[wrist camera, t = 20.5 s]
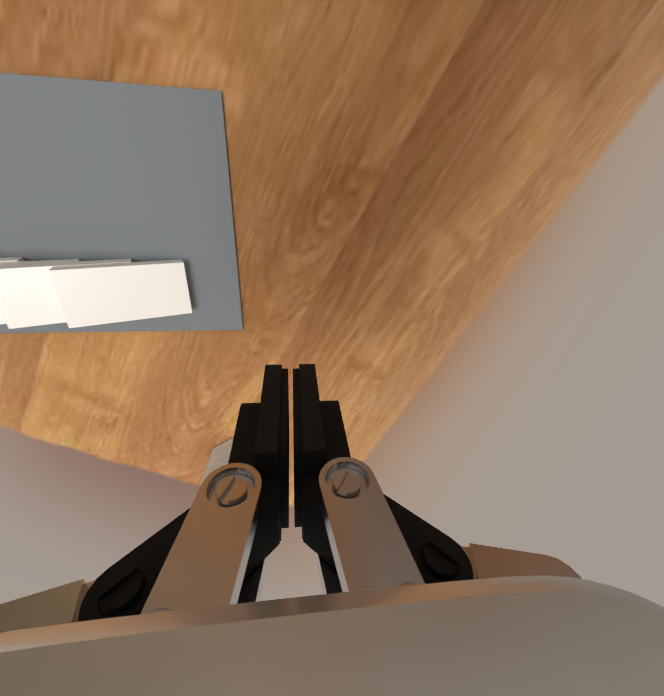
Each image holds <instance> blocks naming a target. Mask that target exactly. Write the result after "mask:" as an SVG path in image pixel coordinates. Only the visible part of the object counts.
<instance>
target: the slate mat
mask: <svg viewBox="0 0 664 696" xmlns="http://www.w3.org/2000/svg"><path fill="white" fill-rule="evenodd" d="M3 257H23V260H24V261H41V260H65V259H79V260H80V261H94V260H113V259H131V261H132V262H143V261H161V260H179V259H182V260H183V262H184V268H185V273H186V279H187V285H188V291H189V297H190V302H191V308H192V313H188V314H180V315H172V316H164V317H156V318H148V319H140V320H132V321H124V322H116V323H108V324H100V325H92V326H84V327H76V328H69V327H68V324H67V322H65V323H56V324H48V325H39V326H31V327H22V328H14V329H9V328H8V326H7V324H0V333H36V332H112V331H188V330H243V319H242V308H241V297H240V286H239V275H238V264H237V253H236V242H235V231H234V220H233V209H232V198H231V187H230V176H229V164H228V153H227V142H226V131H225V120H224V109H223V98H222V92H221V91H215V90H203V89H191V88H179V87H166V86H154V85H142V84H129V83H117V82H105V81H93V80H80V79H68V78H56V77H43V76H31V75H19V74H7V73H0V258H3Z"/></svg>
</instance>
